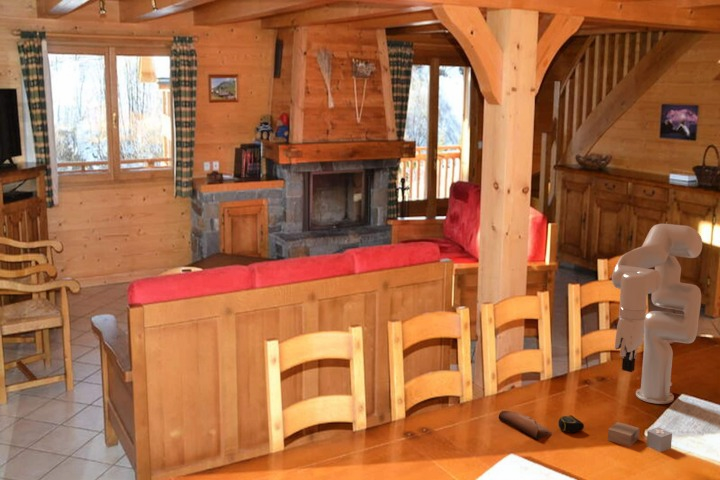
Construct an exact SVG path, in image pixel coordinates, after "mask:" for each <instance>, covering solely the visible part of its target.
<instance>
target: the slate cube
mask: <svg viewBox="0 0 720 480" xmlns="http://www.w3.org/2000/svg"><path fill="white" fill-rule="evenodd" d="M646 435H647V436H646V437H647V438H646V447H648V448H651V449H653V450H655V451H657V452H659V453H662V452H664V451H669V450H670V449H671V448H672V441H673V432H670V431H668V430H665V429H664V428H661V427H660V426H658V427H655V428H652V429H649V430H647V434H646Z"/></svg>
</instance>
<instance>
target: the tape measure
mask: <svg viewBox="0 0 720 480" xmlns="http://www.w3.org/2000/svg"><path fill="white" fill-rule="evenodd" d="M558 427H559V429H560V430H561V431H563V432H566V433H577V432H580V431H583V430H584V428H585V426H584V423H583V422H582V421H581V420H579V419H578V418H576V417H575V416H573V415H571V414H570V415H563V416H561V417H559V420H558Z"/></svg>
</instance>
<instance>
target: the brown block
mask: <svg viewBox="0 0 720 480" xmlns="http://www.w3.org/2000/svg"><path fill="white" fill-rule="evenodd" d="M607 430H608V432H607V441H608V442H612V443H615V444H618V445H620V446H625V447H628V448H630V447H632V446H633V445H634V444H635V443H636V442H637V441H638V440H639V439H640V427H636V426H633V425H630V424H627V423H623V422H619V421H617V422H615V423H614V424H613V425H612V426H611V427H609V428H608V429H607Z"/></svg>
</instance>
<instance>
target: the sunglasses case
mask: <svg viewBox="0 0 720 480" xmlns="http://www.w3.org/2000/svg"><path fill="white" fill-rule="evenodd" d="M499 419H500V420H499ZM498 420H499V421H502V422H504V423H506V424H509V425H511V426H512V427H515V428H516V429H519V430H520V431H522V432H523V433H525V434H527V435H529V436H531V437H532V438H534V439H536V440H537V441H540V440H542V438H543V439H545V438H548V437H550V436H552V435H553V436H554V433H553V432H552V431H551V430H549V429H548V428H547V427H545V426H544V425H543V424H540V423H538V422H537V421H536V419H534V418H532V417H530V416H528V415H525V414H523V413H520V412H516V411H511V410H502V411H500V413H499V414H498Z"/></svg>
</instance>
